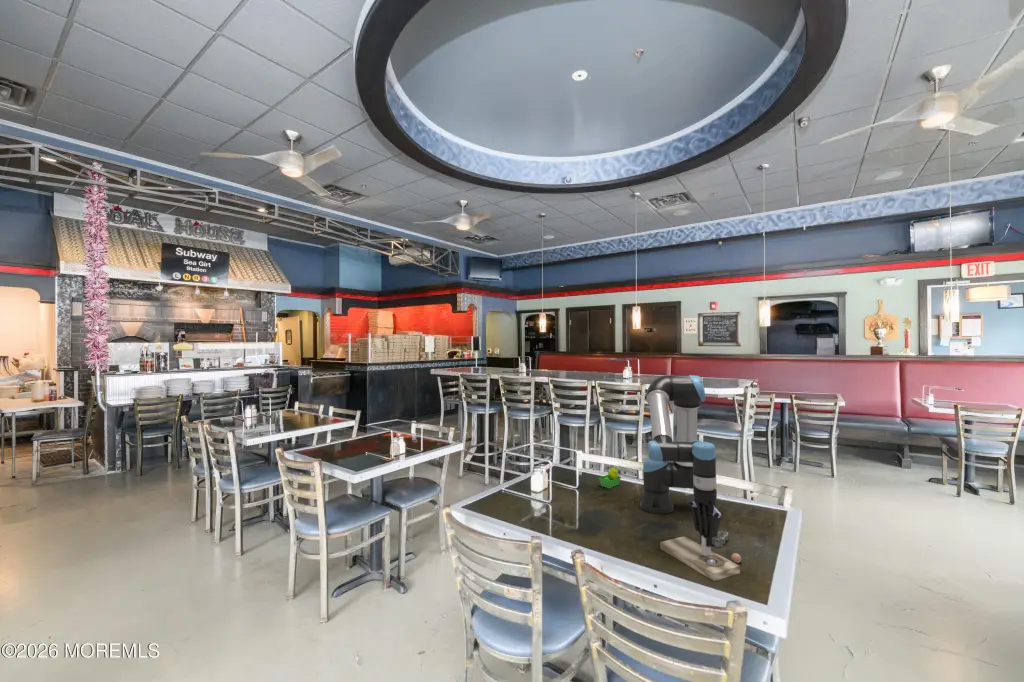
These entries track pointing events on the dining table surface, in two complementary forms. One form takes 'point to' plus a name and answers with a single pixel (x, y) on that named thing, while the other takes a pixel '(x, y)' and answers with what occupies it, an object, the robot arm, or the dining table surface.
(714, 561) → the steel ball
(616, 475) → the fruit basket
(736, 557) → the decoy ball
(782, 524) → the dining table surface
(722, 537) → the egg carton
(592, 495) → the dining table surface
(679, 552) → the hole plate
